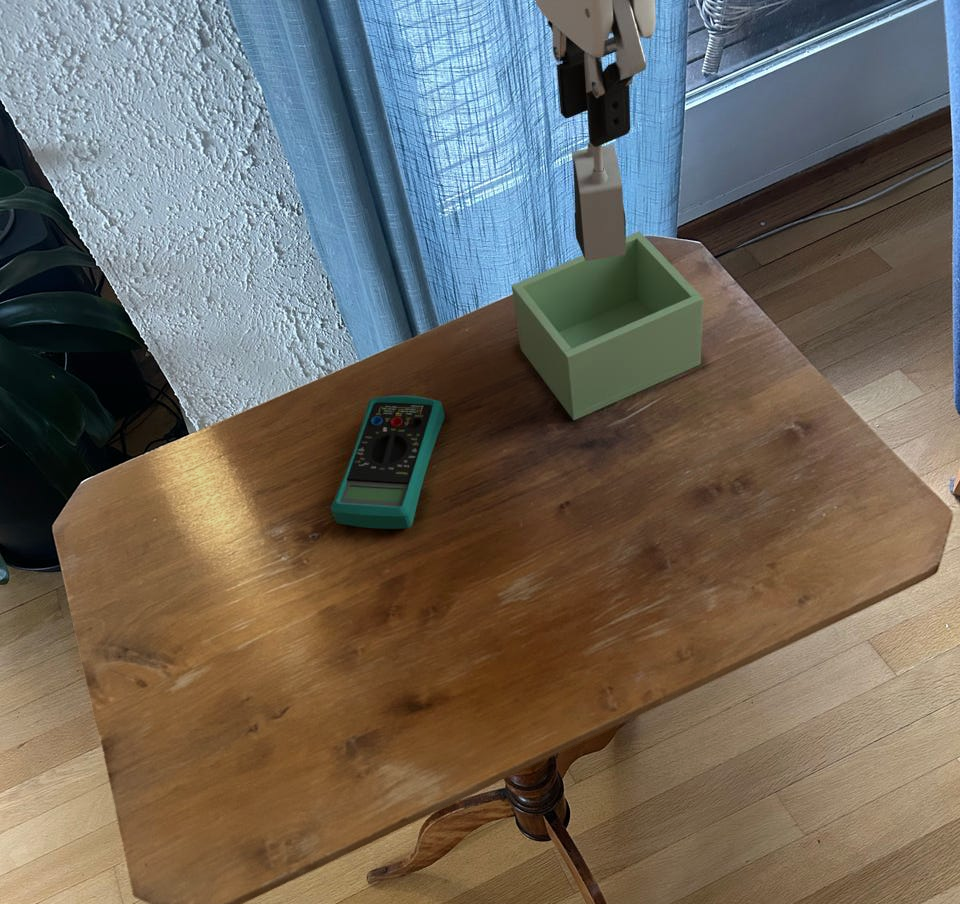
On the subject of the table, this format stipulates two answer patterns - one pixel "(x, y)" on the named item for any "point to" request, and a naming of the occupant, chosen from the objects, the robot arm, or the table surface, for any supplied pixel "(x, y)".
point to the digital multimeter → (388, 462)
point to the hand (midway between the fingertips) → (595, 122)
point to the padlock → (598, 199)
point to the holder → (608, 325)
